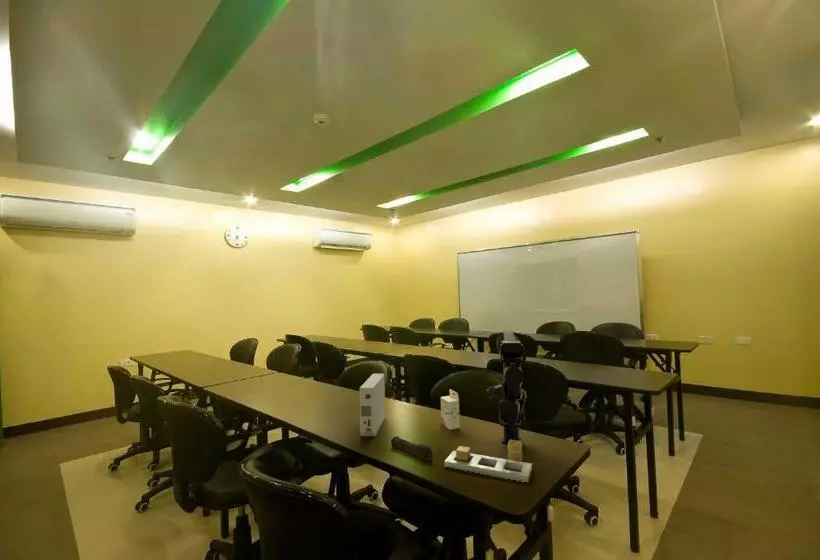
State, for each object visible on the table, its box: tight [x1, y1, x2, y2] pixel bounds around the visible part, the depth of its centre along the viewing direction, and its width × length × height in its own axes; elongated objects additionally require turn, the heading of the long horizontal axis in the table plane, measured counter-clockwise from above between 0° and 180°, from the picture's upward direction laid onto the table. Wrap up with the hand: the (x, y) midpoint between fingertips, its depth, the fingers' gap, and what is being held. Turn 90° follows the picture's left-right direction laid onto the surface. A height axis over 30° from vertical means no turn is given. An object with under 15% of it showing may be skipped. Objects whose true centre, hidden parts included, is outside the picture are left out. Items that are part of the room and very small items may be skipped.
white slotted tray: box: [444, 445, 533, 483], centre depth 118 cm, size 9×26×5 cm, turn 65°
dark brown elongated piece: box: [390, 436, 434, 462], centre depth 131 cm, size 19×4×5 cm, turn 42°
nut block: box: [507, 440, 523, 462], centre depth 124 cm, size 4×4×6 cm
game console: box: [359, 373, 386, 437], centre depth 159 cm, size 6×27×20 cm, turn 174°
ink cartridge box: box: [440, 388, 461, 431], centre depth 158 cm, size 9×5×15 cm, turn 22°
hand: (513, 425), depth 124 cm, fingers open, 9 cm apart
